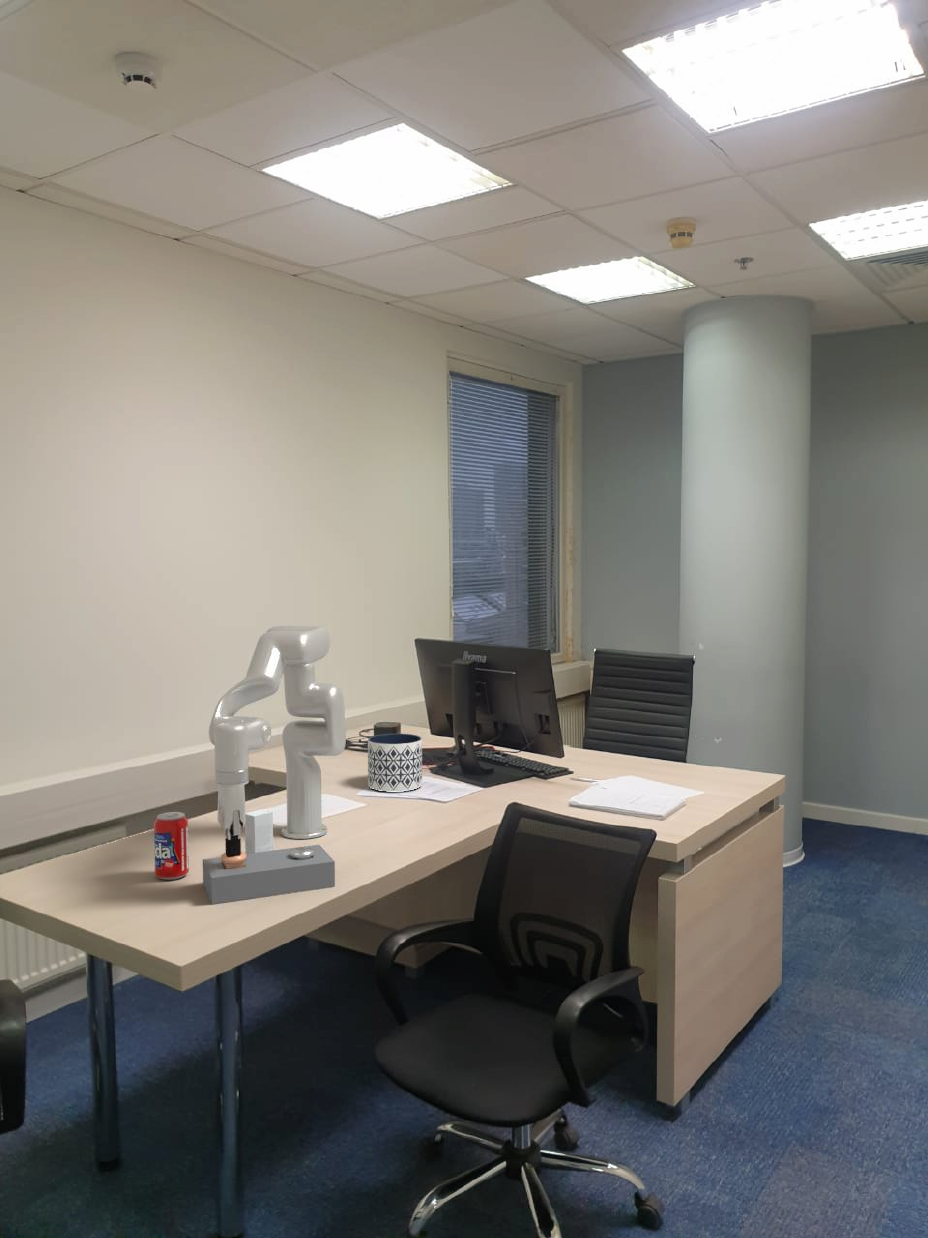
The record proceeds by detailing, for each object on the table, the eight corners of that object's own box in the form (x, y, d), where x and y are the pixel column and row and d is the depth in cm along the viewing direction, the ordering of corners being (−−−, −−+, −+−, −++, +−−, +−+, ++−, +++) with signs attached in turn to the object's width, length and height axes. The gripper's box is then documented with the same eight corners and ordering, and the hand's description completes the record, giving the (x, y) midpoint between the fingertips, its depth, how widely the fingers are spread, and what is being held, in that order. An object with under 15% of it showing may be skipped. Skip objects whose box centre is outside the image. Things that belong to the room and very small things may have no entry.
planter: (416, 794, 303) (415, 744, 302) (361, 792, 306) (361, 743, 304) (427, 781, 321) (426, 734, 320) (375, 779, 323) (375, 732, 322)
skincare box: (263, 853, 242) (262, 808, 241) (274, 857, 239) (273, 811, 238) (244, 859, 237) (243, 813, 236) (255, 863, 234) (254, 816, 234)
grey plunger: (287, 874, 223) (287, 849, 222) (310, 871, 225) (310, 846, 225) (293, 881, 218) (293, 855, 217) (316, 878, 220) (316, 852, 219)
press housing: (203, 884, 219) (202, 859, 218) (319, 868, 230) (319, 844, 230) (212, 904, 206) (211, 878, 206) (334, 886, 217) (334, 861, 217)
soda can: (195, 875, 225) (194, 814, 224) (166, 884, 219) (164, 821, 218) (177, 868, 230) (176, 809, 229) (148, 876, 224) (147, 815, 223)
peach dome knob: (219, 879, 216) (219, 853, 216) (244, 876, 218) (243, 850, 218) (223, 887, 211) (223, 860, 211) (248, 883, 213) (248, 857, 213)
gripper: (210, 771, 218) (211, 848, 220) (220, 785, 205) (222, 867, 206) (242, 768, 221) (243, 844, 223) (254, 782, 208) (256, 863, 209)
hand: (233, 855), depth 214 cm, fingers closed
